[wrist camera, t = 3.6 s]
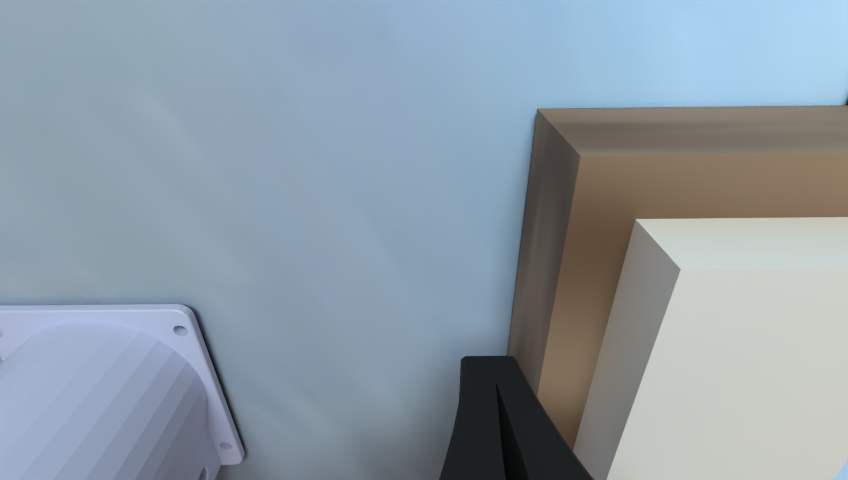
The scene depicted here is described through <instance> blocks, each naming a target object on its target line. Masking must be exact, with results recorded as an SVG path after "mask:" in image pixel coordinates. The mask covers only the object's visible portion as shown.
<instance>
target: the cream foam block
mask: <svg viewBox="0 0 848 480" xmlns="http://www.w3.org/2000/svg"><path fill="white" fill-rule="evenodd" d="M573 452H574V454H575V455H576V457H577V458H578V459H579V461H580V462H581V463H582V465H583V466H584V467H585V469H586V470H587V471H588V473H589V474H590V475H591V476H592V478H593V479H594V480H832V479H833V478H834V476H835V475H836V474H837V473H838V471H839V470H840V469H841V468H842V466H843V465H844V464H845V463H846V462H847V460H848V217H804V218H697V219H635V223H634V227H633V230H632V234H631V238H630V242H629V245H628V249H627V253H626V256H625V260H624V264H623V267H622V271H621V275H620V279H619V282H618V286H617V290H616V293H615V297H614V301H613V305H612V308H611V312H610V316H609V319H608V323H607V327H606V330H605V334H604V338H603V342H602V345H601V349H600V353H599V356H598V360H597V364H596V368H595V371H594V375H593V379H592V382H591V386H590V390H589V393H588V397H587V401H586V405H585V408H584V412H583V416H582V419H581V423H580V427H579V431H578V434H577V438H576V442H575V445H574V449H573Z"/></svg>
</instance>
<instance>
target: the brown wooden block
mask: <svg viewBox="0 0 848 480" xmlns="http://www.w3.org/2000/svg"><path fill="white" fill-rule="evenodd" d="M804 217H848V105H840V106H745V107H651V108H556V109H537V115H536V123H535V131H534V140H533V148H532V156H531V164H530V173H529V181H528V189H527V197H526V206H525V214H524V222H523V230H522V239H521V247H520V255H519V263H518V272H517V280H516V288H515V296H514V305H513V313H512V321H511V329H510V338H509V346H508V354H507V356H513V357H514V358H515V359H516V360H517V362H518V364H519V366H520V368H521V370H522V372H523V374H524V376H525V377H526V379H527V381H528V383H529V385H530V386H531V388H532V390H533V392H534V393H535V395H536V397H537V398H538V400H539V402H540V403H541V405H542V406H543V408H544V410H545V411H546V413H547V414H548V416H549V417H550V419H551V420H552V422H553V423H554V425H555V426H556V428H557V430H558V431H559V433H560V434H561V436H562V437H563V438H564V440H565V441H566V443H567V444H568V446H569V447H570V448H571V450H572V451H573V449H574V445H575V442H576V438H577V434H578V431H579V427H580V423H581V419H582V416H583V412H584V408H585V405H586V401H587V397H588V393H589V390H590V386H591V382H592V379H593V375H594V371H595V368H596V364H597V360H598V356H599V353H600V349H601V345H602V342H603V338H604V334H605V330H606V327H607V323H608V319H609V316H610V312H611V308H612V305H613V301H614V297H615V293H616V290H617V286H618V282H619V279H620V275H621V271H622V267H623V264H624V260H625V256H626V253H627V249H628V245H629V242H630V238H631V234H632V230H633V227H634V223H635V219H697V218H804Z"/></svg>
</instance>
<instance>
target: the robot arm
mask: <svg viewBox="0 0 848 480" xmlns="http://www.w3.org/2000/svg"><path fill="white" fill-rule="evenodd" d="M181 326H183V327H185V328H186V329H184V328H182V327H181ZM0 357H1V358H2V360H3V361H2V362H1V363H0V480H215V478H216V476H217V474H218V471H219V469H220V466H221V465H237V464H239V463H241V462H242V460H243V457H244V450H243V447H242V444H241V442H240V439H239V436H238V433H237V431H236V428H235V425H234V422H233V420H232V417H231V414H230V411H229V409H228V406H227V403H226V400H225V398H224V395H223V392H222V389H221V387H220V384H219V381H218V378H217V375H216V373H215V370H214V367H213V364H212V362H211V359H210V356H209V353H208V351H207V348H206V345H205V342H204V340H203V337H202V334H201V331H200V329H199V326H198V323H197V320H196V318H195V315H194V313H193V311H192V310H191V309H190V308H188V307H186V306H184V305H180V304H134V305H16V306H0ZM439 480H594V479H593V478H592V476H591V475H590V474H589V473H588V471H587V470H586V469H585V467H584V466H583V465H582V463H581V462H580V461H579V459H578V458H577V457H576V455H575V454H574V452H573V451H572V450H571V448H570V447H569V446H568V444H567V443H566V441H565V440H564V438H563V437H562V436H561V434H560V433H559V431H558V430H557V428H556V426H555V425H554V423H553V422H552V420H551V419H550V417H549V416H548V414H547V413H546V411H545V410H544V408H543V406H542V405H541V403H540V402H539V400H538V398H537V397H536V395H535V393H534V392H533V390H532V388H531V386H530V385H529V383H528V381H527V379H526V377H525V376H524V374H523V372H522V370H521V368H520V366H519V364H518V362H517V360H516V359H515V358H514V357H513V356H465V357H464V358H463V359H461V373H460V395H459V405H458V410H457V415H456V420H455V425H454V429H453V433H452V437H451V441H450V444H449V448H448V452H447V455H446V459H445V463H444V466H443V469H442V472H441V476H440V479H439Z"/></svg>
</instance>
